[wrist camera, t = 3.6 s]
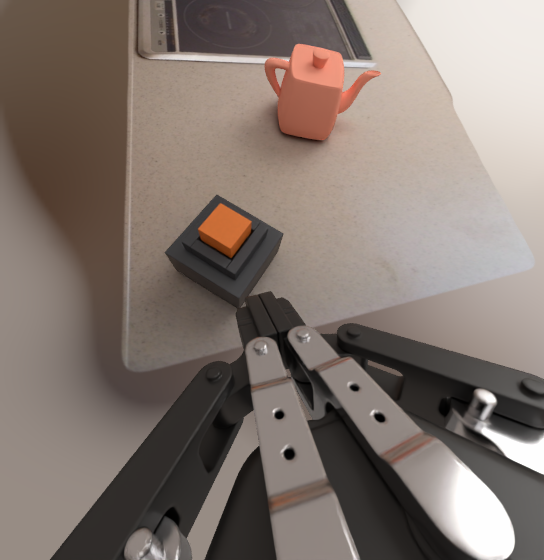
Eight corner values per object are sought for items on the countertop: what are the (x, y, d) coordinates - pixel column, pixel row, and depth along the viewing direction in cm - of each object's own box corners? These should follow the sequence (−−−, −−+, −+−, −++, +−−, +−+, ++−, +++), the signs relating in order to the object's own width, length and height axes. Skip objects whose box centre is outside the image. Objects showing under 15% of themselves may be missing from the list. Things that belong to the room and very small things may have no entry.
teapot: (264, 92, 45) (270, 17, 36) (352, 110, 47) (382, 44, 37) (257, 134, 41) (262, 63, 32) (354, 152, 43) (387, 90, 33)
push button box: (239, 309, 31) (239, 294, 24) (176, 269, 31) (159, 244, 25) (277, 252, 34) (286, 225, 28) (219, 217, 35) (215, 184, 28)
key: (231, 258, 26) (230, 249, 23) (200, 240, 26) (197, 229, 24) (251, 232, 27) (251, 221, 25) (221, 215, 27) (220, 202, 25)
